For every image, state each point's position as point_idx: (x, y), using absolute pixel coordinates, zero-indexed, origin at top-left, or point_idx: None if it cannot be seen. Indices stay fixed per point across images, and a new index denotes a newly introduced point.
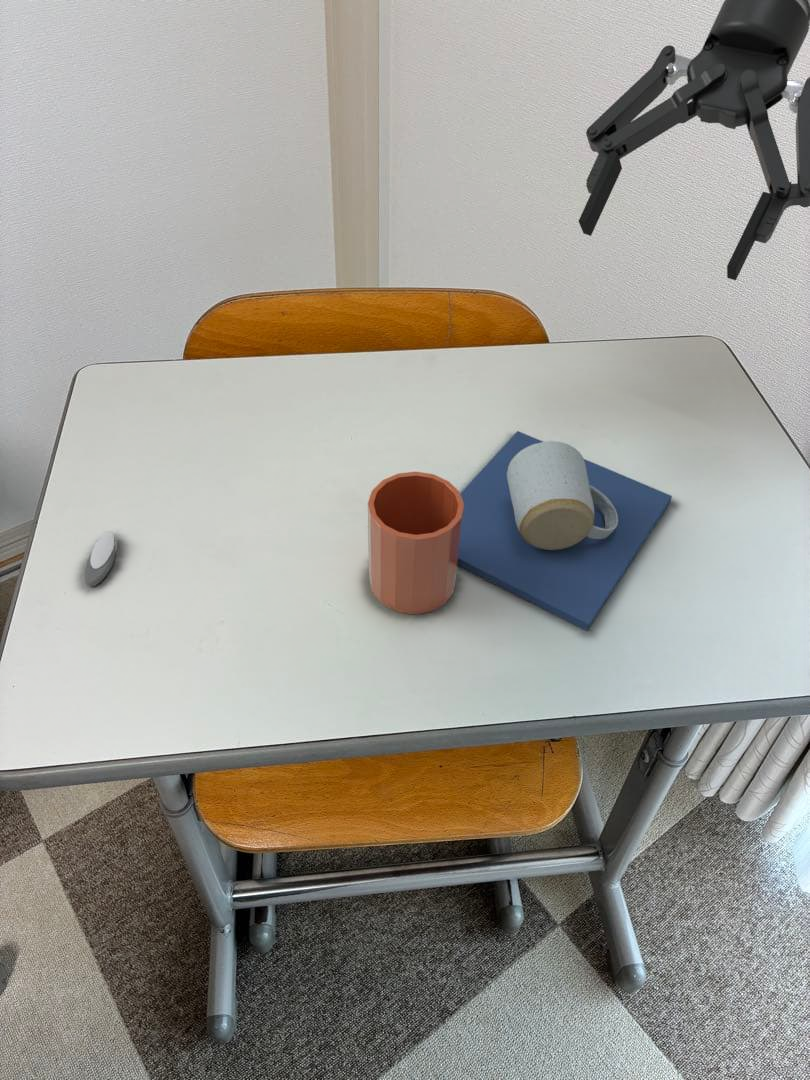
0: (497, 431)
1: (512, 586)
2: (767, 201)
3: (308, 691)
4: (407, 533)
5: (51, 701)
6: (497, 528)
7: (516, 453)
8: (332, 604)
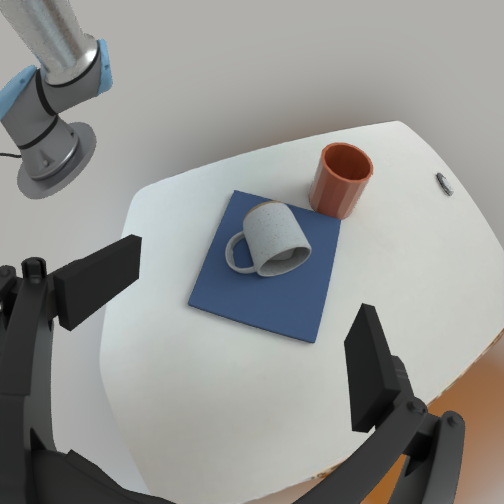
0: (329, 345)
1: None
2: (64, 269)
3: None
4: (341, 144)
5: (409, 136)
6: None
7: (309, 314)
8: None
